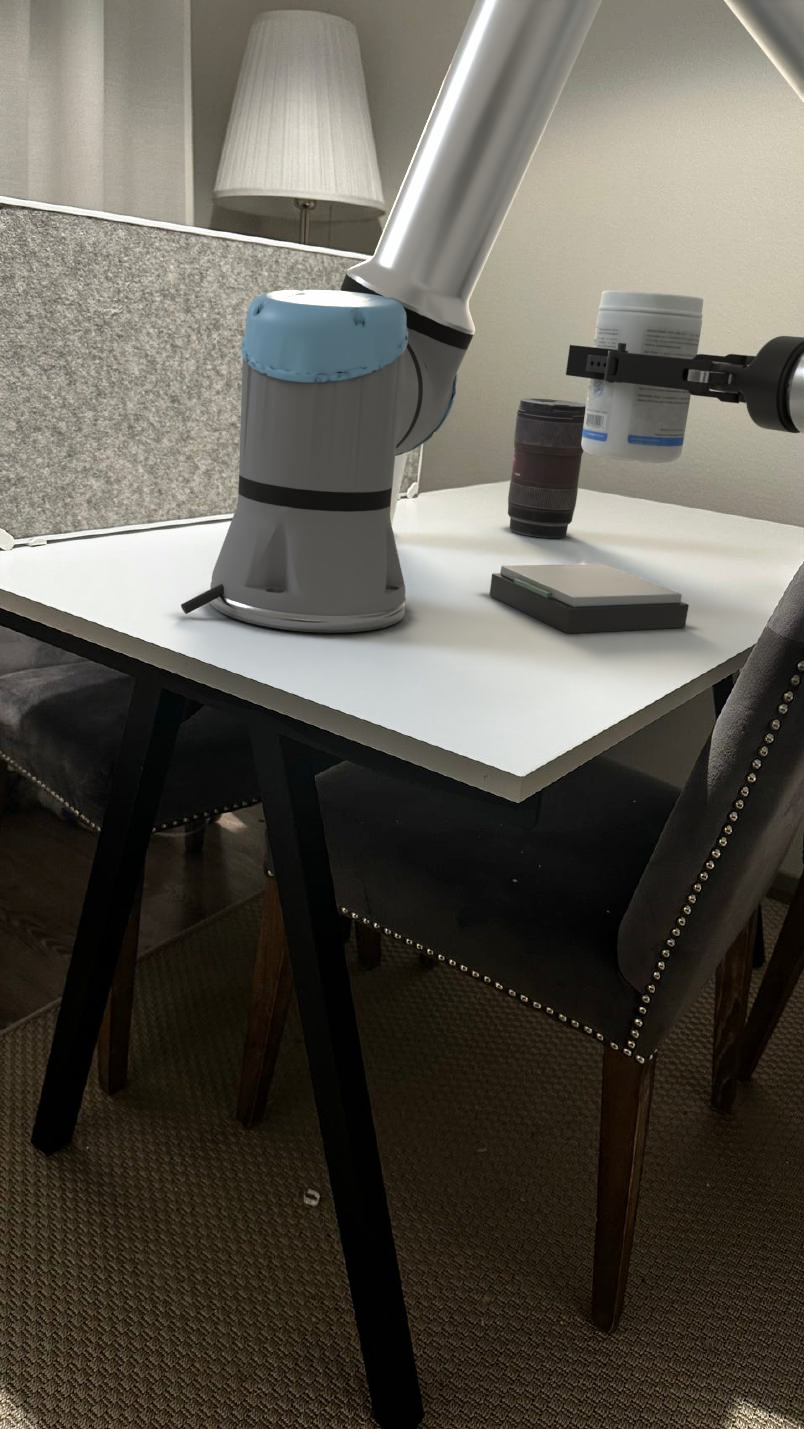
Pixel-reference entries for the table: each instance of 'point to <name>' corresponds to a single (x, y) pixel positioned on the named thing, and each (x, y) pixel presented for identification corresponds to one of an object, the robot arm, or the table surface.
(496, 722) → the table surface
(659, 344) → the supplement tub
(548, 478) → the camera lens
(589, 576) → the scale
